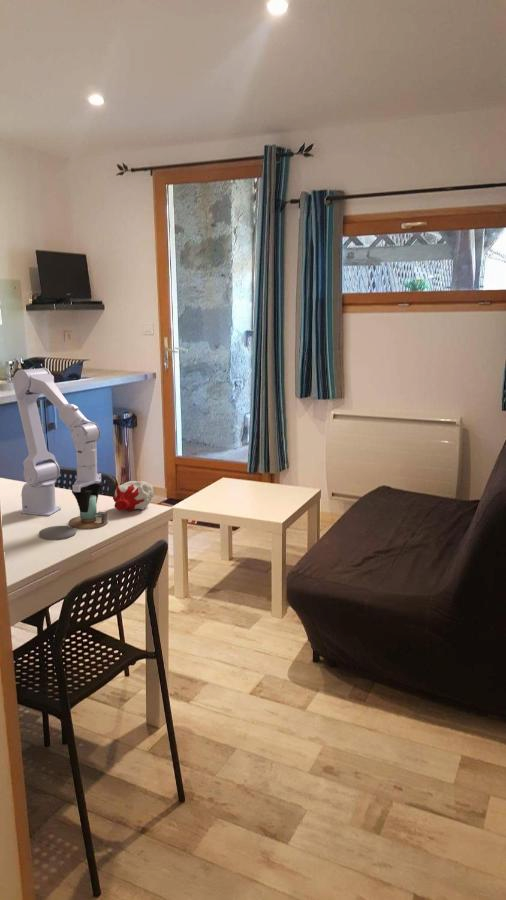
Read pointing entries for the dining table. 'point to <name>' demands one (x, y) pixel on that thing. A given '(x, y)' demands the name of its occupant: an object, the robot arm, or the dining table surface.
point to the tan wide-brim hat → (89, 522)
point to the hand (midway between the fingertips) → (88, 509)
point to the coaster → (57, 532)
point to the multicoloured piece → (133, 495)
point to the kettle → (90, 509)
